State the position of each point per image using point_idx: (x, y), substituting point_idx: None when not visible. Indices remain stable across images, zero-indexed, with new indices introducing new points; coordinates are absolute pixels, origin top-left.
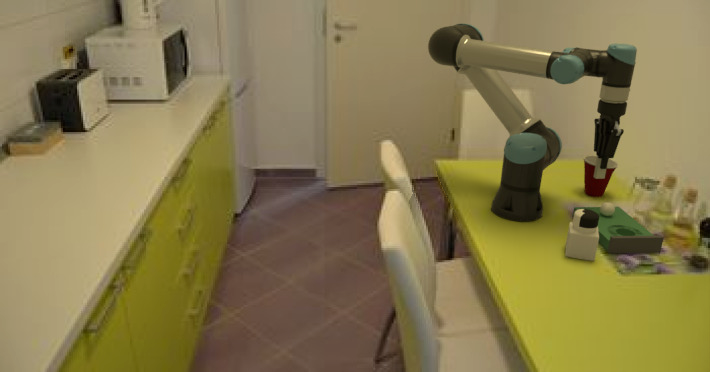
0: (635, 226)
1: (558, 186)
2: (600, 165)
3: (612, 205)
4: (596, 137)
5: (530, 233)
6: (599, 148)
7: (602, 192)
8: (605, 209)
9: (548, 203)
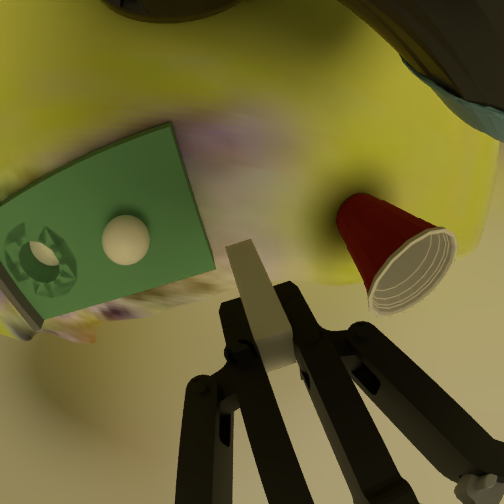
0: (86, 290)
1: (403, 132)
2: (243, 309)
3: (116, 262)
4: (417, 409)
5: (22, 15)
6: (315, 384)
7: (342, 237)
8: (102, 235)
9: (274, 58)
